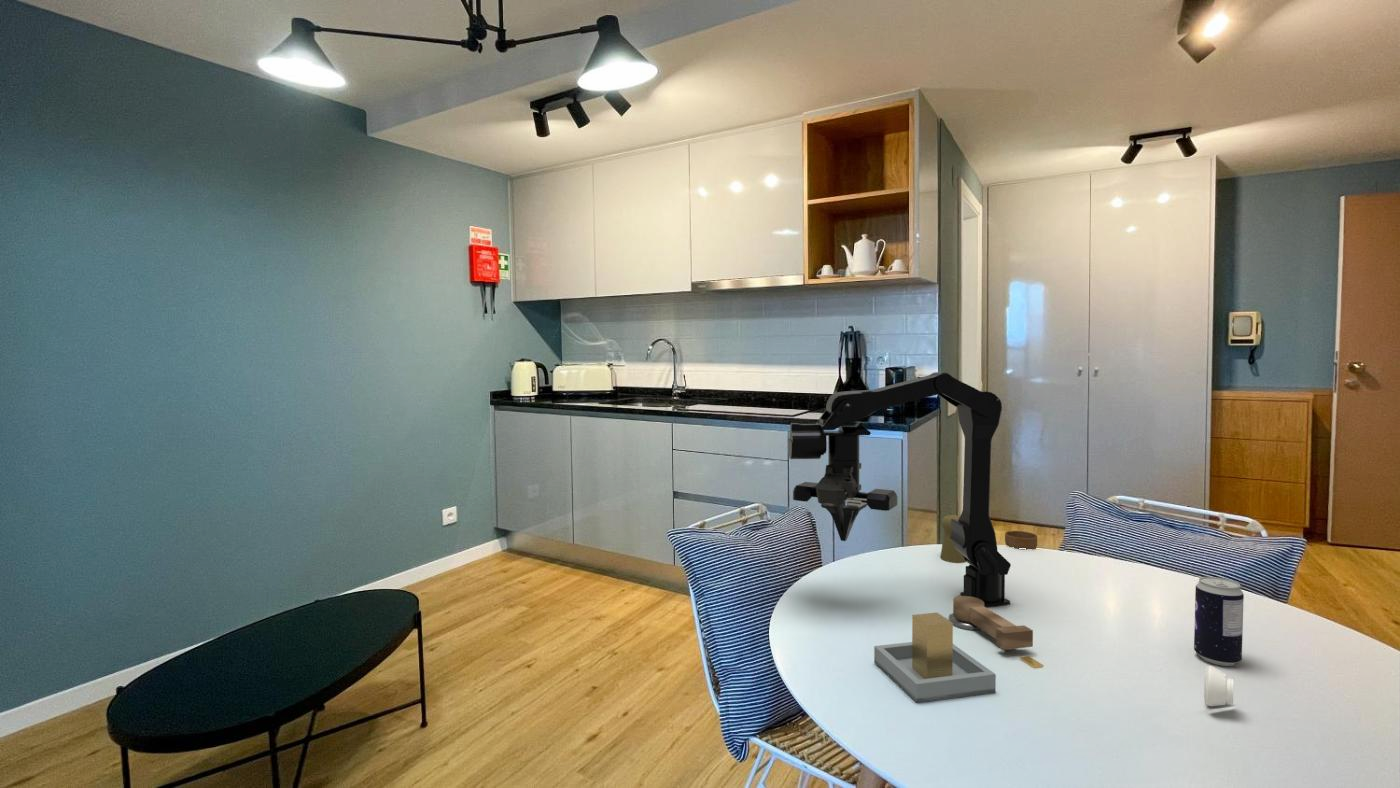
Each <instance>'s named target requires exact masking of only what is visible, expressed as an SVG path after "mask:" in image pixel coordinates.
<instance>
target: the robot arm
mask: <svg viewBox="0 0 1400 788" xmlns="http://www.w3.org/2000/svg"><path fill="white" fill-rule="evenodd" d="M933 396H939V397H940V398H941V399H942V400H945V401H946V402H947V403H948V404H950V405H952V406H954V407H956V408H957V415H958V416H957V417H958V422H959V424H960V428H961V430H962V433H963V437H964V451H963V452H964V453H963V454H964V457H963V459H964V460H963V488H962V490H963V491H962V492H963V493H962V496H963V497H962V511H961V513H960V515H959V516H960V518H959V519H958V520H956V519H951V526H952V533H951V536H950V539H951V540H952V541H953V543H954V547H955V548H956V550H957V551H958V552H959V553H961V554H962V556H963V558H964V561H965V563H967V564H968V565H966V566H965V574H964V575H963V591H962V592H960V594H959V596H970V597H975V598H978V599H981V600H982V601H984V607H991V606H993V607H994V606H1003V605H1010V604H1011V600H1009V599H1007V598H1005V597H1006V596H1005V595H1006V593H1005V590H1006V589H1005V588H1006V585H1005V584H1006V583H1005V581H1006V580H1005V579H1006V575H1008V574H1009V572H1010V569H1011V563H1010V562H1009V561H1008V559H1006V558H1005V557H1004V556H1003V555H1002V554H1001V553H1000V552H999V551H998V544H997V543H998V542H997V537H996V531H995V529H994V526H993V522H992V521H991V517H990V498H991V497H990V494H991V489H990V488H991V463H992V458H991V457H992V440H993V438H994V435H995V433H996V431H997V429H998V427H999V424H1000V420H1001V415H1002V411H1003V403H1002V401H1001V399H1000V398H999V397H998V396H997V394H995V393H993V392H991V391H985V390H984V391H983V390H979V389H977V388H975V387H974V386H971V385H969V384H967V383H965V382H963V381H961V380H959V379H957V378H956V377H953V376H952V375H951V374H949V373H947V372H939V371H938V372H937V371H936V372H932V373H931V374H929V375H925V376H921V377H917V378H914V379H910V380H909V379H908V380H906V381H905V380H904V381H900V382H898V383H894V384H890V385H886V386H882V387H877V388H874V389H865V390H864V389H863V390H860V389H859V390H847V391H846V390H845V391H838V392H835V393H833V394H831V395H830V396H829V398H828V400H827V401H826V405H825V406H826V407H825V408H826V409H825V410H824V412H823V413H822V414H821V416H820V417H819V418H818V419H817V421H816V422H815V423H798V422H791V423H790V427H789V435H788V439H787V449H788V451H787V453H788V458H789V460H820V459H821V458H822V456H824V455H826V453H827V451H828V457H827V458H828V464H826V465H825V472H824V473H825V474H823V475H824V476H822V478H820V480H819V482H812V481H810V482H808V481H804V482H802V483H799V484H796V485H795V486H794V488H793V490H792V500H793V501H795V502H796V501H797V502H798V501H799V502H806V503H807V502H809V501H810V500H811V499H812V498H817V503H819V504H820V507H821V508H822V509H826V511H827V512H828V513H830V516H831V517H832V520H833V522H834V525H835V528H836V531H837V534H838V537H839V539H840V541H842V542H846V541H848V538H849V535H850V532H851V530H852V528H853V525H854V523H855V520H856V519H857V517H858V515H859V513H860V511H861V510H863V509H865V508H867V507H868V508H869V509H870V510H876V511H885V512H886V511H890V510H892V509H893V508H895V507H897V506H898V494H897V493H896V492H895V490H891V489H883V488H875V489H873V490H871V491H869V492H862V484H860V470H861V469H862V463H861V462H860V436H870V435H871V434H872V433H871V431H870V430H868V428H867V427H865V426H864V424H863V422H861V421H860V420H863V419H865V418H868V417H870V416H871V415H872V414H874V413H876V412H878V411H880V410H882V409H886V408H890V407H894V406H897V405H902V404H906V403H909V402H914V401H918V400H921V399H926V398H929V397H930V398H931V397H933ZM856 422H857V423H856ZM854 423H855V425H850V424H854ZM837 429H838V430H837ZM827 438H828V442H827ZM827 443H828V444H827ZM827 445H828V447H827ZM827 448H828V449H827Z"/></svg>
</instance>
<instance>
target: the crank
mask: <svg viewBox="0 0 1400 788" xmlns="http://www.w3.org/2000/svg"><path fill="white" fill-rule="evenodd" d="M952 600H953V601H952V611H953V612H952V613H953V616H954V617H955V618H956V619H958V620H961V621H965V622H971V623H972V624H974V625H976V626H977V627H979V628H980V629H982V630H981V631H983V632H985V633H986V634H988V635H989V636H991V637H993V638H994V639H995V645H997V646H998V647H999V648H1001V649H1002V650H1014V649H1023V648H1024V649H1025V648H1026V649H1027V648H1033V647H1034V646H1033V645H1034V644H1033V643H1034V630H1033V629H1031V628H1030V627H1028V626H1026V625H1024V624H1023V625H1016V624H1014V623H1012V622H1011V621H1009V620H1008V619H1006V618H1004V617H1002V616H1001V615H999V614H998V613H996V612H994V611H993V610H990V609H989V608H988V607H987V606H984V601H982V600H981V599H978V598H975V597H970V596H961V595H959V596H958V595H957V596H955V597H953V599H952Z"/></svg>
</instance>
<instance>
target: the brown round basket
mask: <svg viewBox="0 0 1400 788" xmlns="http://www.w3.org/2000/svg"><path fill="white" fill-rule="evenodd" d="M1004 544H1005V545H1006V546H1007V547H1009V548H1011V547H1014V548H1013V549H1015V550H1025V549H1019V548H1026V550H1025V551H1028V550H1027V549H1032V550H1036V549H1037V548H1038V535H1037V534H1035V533H1033V532H1028V531H1023V530H1008V531H1006V532H1004Z"/></svg>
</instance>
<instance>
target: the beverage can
mask: <svg viewBox="0 0 1400 788" xmlns="http://www.w3.org/2000/svg"><path fill="white" fill-rule="evenodd" d="M1194 594H1195V595H1194V599H1195V600H1194V603H1195V604H1194V628H1193V629H1194V633H1193V639H1194V640H1193V650H1194V651H1195V653H1196V654H1198V655H1199V657H1200V658H1201V660H1203V661H1206V662H1208V663H1210V664H1213V665H1218V666H1225V667H1232V666H1234V665H1236V664H1237V663H1239V662H1241V661H1242V660H1243V659H1242V658H1243V630H1244V628H1243V627H1244V598H1245V597H1244V596H1245V595H1244V594H1245V593H1243V590H1242V589H1241V584H1240V583H1238V582H1236V581H1235V580H1231V579H1227V578H1223V577H1218V576H1217V577H1215V576H1201V577H1199V578H1198V582H1197V584H1196V585H1195V593H1194Z"/></svg>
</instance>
